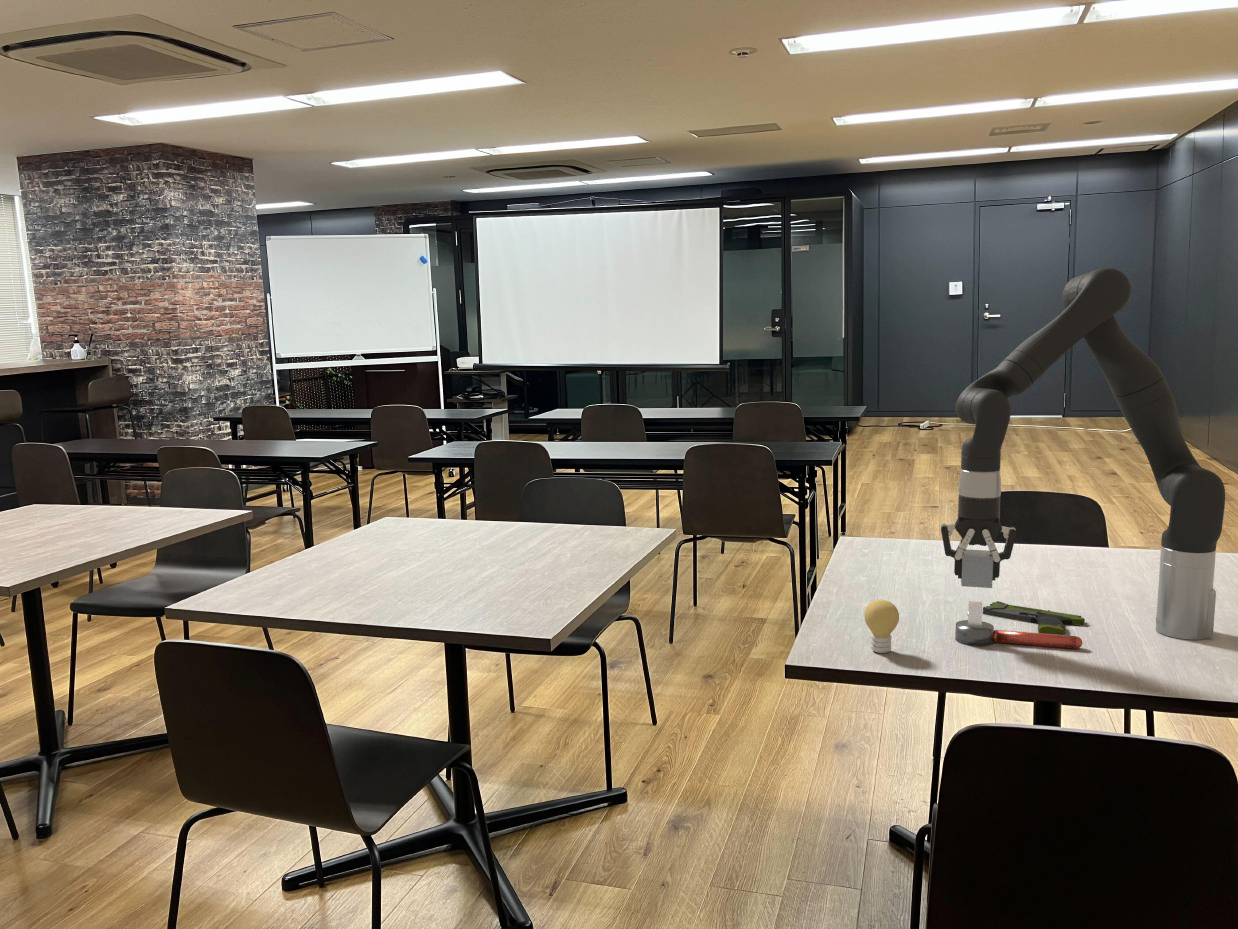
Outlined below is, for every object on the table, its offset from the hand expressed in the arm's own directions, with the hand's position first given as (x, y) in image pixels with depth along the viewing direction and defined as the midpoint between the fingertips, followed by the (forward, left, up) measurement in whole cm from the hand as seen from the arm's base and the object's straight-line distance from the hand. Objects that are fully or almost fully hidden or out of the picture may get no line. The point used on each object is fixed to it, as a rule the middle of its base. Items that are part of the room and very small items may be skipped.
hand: (976, 578), depth 184 cm
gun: (-11, -15, -13) cm, 23 cm away
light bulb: (+17, +11, -13) cm, 24 cm away
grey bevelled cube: (0, 0, -1) cm, 1 cm away
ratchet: (-8, 0, -12) cm, 15 cm away
